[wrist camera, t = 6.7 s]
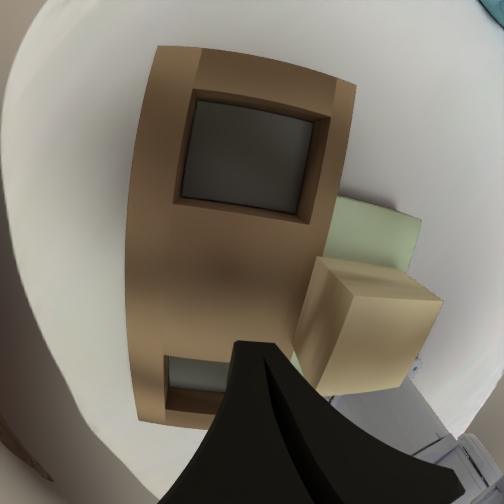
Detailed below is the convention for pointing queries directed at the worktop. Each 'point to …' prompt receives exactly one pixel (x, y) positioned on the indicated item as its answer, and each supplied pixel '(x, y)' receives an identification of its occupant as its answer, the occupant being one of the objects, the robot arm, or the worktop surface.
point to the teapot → (495, 9)
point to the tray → (235, 219)
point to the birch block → (361, 326)
